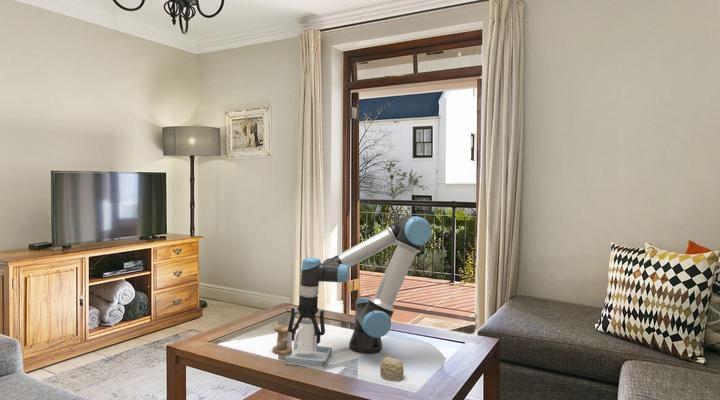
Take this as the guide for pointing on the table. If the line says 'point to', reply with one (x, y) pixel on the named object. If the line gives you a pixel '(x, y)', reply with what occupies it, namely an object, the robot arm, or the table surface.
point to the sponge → (391, 369)
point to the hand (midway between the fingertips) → (305, 349)
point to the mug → (305, 337)
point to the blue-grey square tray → (311, 358)
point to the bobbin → (281, 340)
